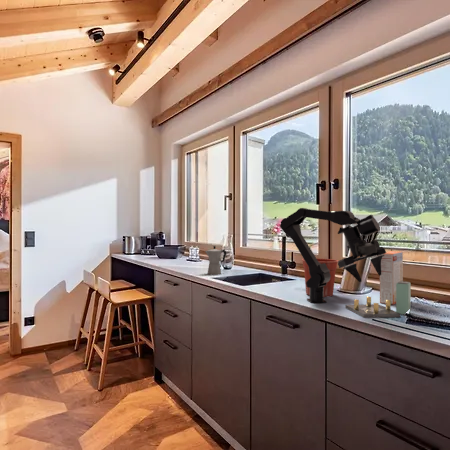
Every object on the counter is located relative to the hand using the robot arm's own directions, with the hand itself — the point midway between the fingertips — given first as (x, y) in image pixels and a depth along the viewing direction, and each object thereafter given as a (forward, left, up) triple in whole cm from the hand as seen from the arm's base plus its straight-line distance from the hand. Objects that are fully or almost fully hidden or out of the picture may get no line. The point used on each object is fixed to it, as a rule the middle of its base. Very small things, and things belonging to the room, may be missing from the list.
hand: (370, 278), depth 142 cm
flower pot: (-30, -9, -12) cm, 34 cm away
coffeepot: (-105, -51, -12) cm, 118 cm away
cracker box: (-13, +16, -12) cm, 24 cm away
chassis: (+5, -2, -12) cm, 13 cm away
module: (+7, +9, -12) cm, 16 cm away
